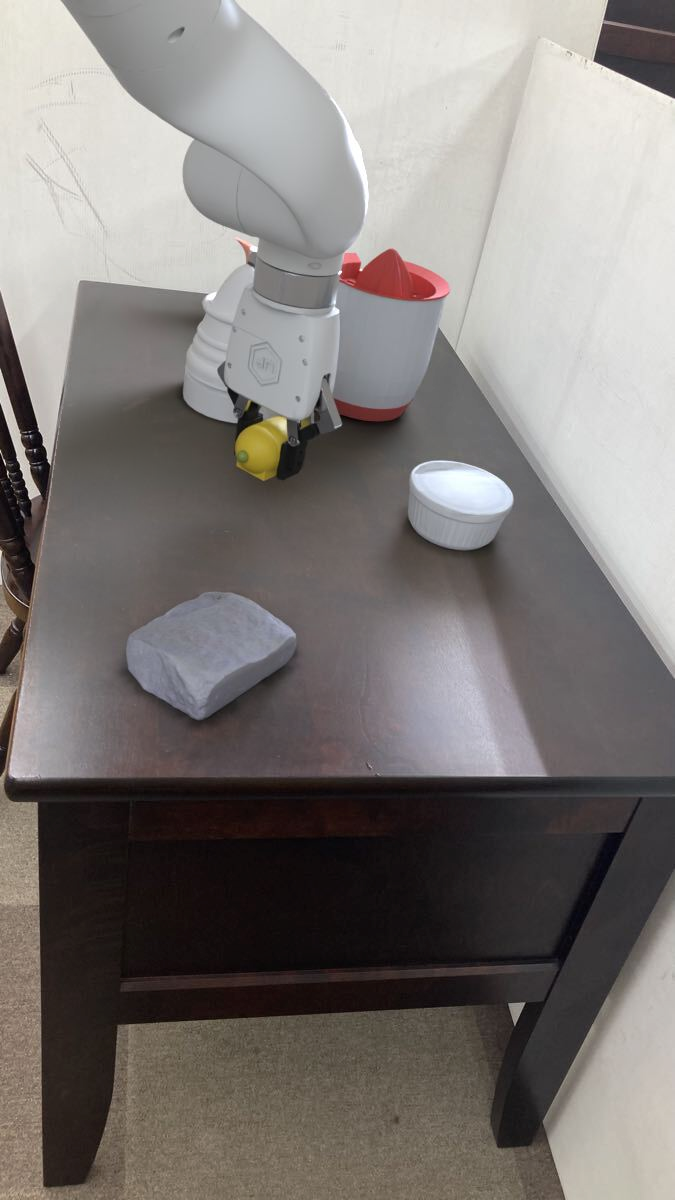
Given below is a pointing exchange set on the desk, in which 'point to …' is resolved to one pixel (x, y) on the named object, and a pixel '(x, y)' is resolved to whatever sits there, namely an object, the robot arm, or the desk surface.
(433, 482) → the ramekin
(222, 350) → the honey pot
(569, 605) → the desk surface
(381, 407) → the citrus juicer
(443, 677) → the desk surface
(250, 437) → the lemon
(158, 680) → the stone block
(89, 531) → the desk surface
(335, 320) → the robot arm
